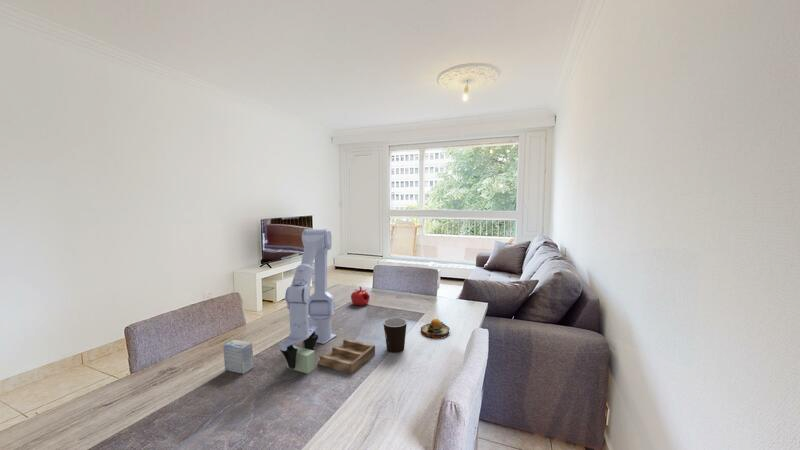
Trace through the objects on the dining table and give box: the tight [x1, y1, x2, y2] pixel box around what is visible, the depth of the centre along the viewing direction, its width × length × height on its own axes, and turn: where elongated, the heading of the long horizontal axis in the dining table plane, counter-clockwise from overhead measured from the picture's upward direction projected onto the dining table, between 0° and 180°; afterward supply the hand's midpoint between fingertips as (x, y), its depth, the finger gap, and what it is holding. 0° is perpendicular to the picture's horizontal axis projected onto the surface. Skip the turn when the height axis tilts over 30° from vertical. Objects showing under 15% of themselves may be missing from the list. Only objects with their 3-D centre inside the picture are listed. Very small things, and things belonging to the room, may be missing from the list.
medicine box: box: [223, 339, 255, 375], centre depth 99 cm, size 8×4×9 cm, turn 71°
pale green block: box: [286, 345, 316, 374], centre depth 99 cm, size 9×4×6 cm, turn 64°
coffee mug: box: [383, 317, 408, 354], centre depth 113 cm, size 12×9×10 cm
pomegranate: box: [350, 286, 370, 307], centre depth 161 cm, size 10×10×9 cm
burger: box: [420, 317, 451, 339], centre depth 125 cm, size 12×12×8 cm
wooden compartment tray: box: [317, 338, 376, 375], centre depth 105 cm, size 14×14×3 cm
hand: (300, 362), depth 99 cm, fingers open, 7 cm apart
